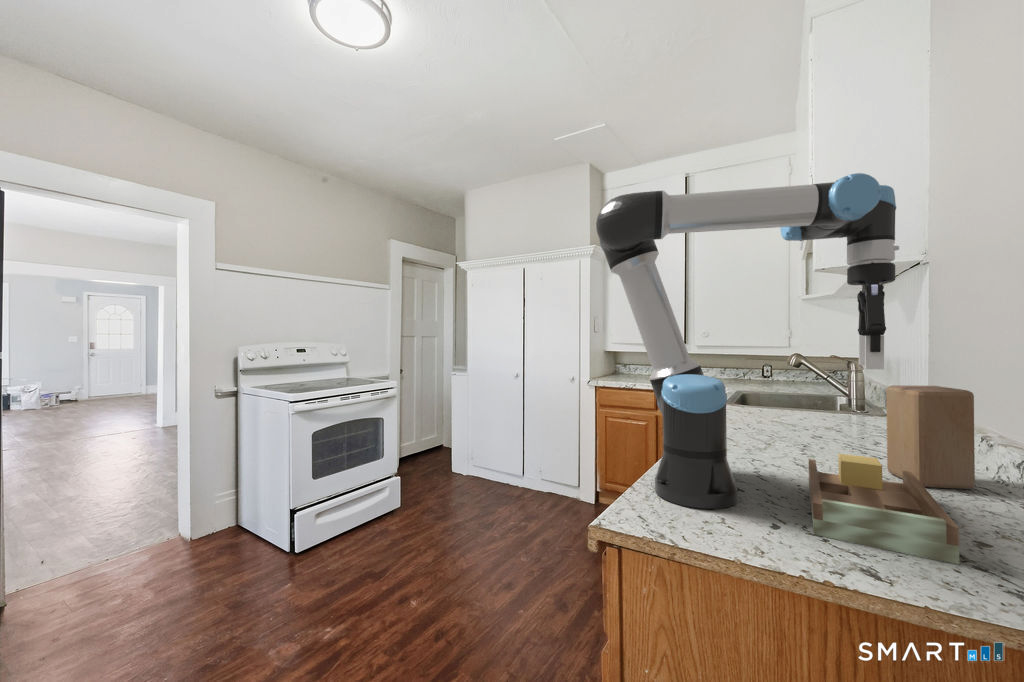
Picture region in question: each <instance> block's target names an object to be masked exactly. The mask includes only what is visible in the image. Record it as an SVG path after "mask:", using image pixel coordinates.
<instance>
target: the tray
mask: <svg viewBox="0 0 1024 682" xmlns="http://www.w3.org/2000/svg"><path fill="white" fill-rule="evenodd" d="M808 488H809V489H808V490H809V499H810V507H811V508H810V509H811V510H810V512H811V518H812V519H811V520H812V530H813V531H812V533H813V536H814V535H815V536H819V537H824V538H830V539H833V540H838V541H844V542H848V543H852V544H859V545H863V546H868V547H872V548H877V549H882V550H887V551H891V552H892V551H893V552H896V553H900V552H901V553H902V554H906V555H911V556H915V555H916V557H920V556H922V557H921V558H925V557H927V558H926V559H929V558H930V559H931V560H935V561H940V562H945V563H949V564H954V565H960V528H959V526H958V525H957V524H956V523H955V521H953V519H952V518H951V516H949V515H948V513H947V512H946V511H945V509H943V507H942V506H941V505H940V504H939V503H938V501H937V500H936V499H935V498H934V497H933V495H932V494H930V492H929V491H928V490H927V489H926V487H924V486H923V485H922V484H921V483H920V482H919V480H918V479H917V478H916V477H915V476H914V475H913V473H912V472H909V471H903V479H902V482H894V481H888V480H887V481H886V480H882V490H878V489H871V488H864V487H858V486H851V485H844V484H841V482H840V478H839V474H837V473H836V474H835V473H834V474H833V473H827V472H820V471H818V468H817V461H816V459H810V458H809V459H808ZM930 559H929V560H930Z"/></svg>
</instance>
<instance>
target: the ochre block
mask: <svg viewBox="0 0 1024 682" xmlns="http://www.w3.org/2000/svg"><path fill="white" fill-rule="evenodd" d="M837 458H838V459H837V460H838V463H837V465H838V466H837V467H838V475H839V478H840V482H841V484H844V485H851V486H858V487H864V488H871V489H878V490H882V481H883V465H882V463H881V462H880V460H879V459H878V458H877V457H873V456H872V457H870V456H863V455H852V454H844V453H838V455H837Z"/></svg>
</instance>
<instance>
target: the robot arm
mask: <svg viewBox="0 0 1024 682" xmlns="http://www.w3.org/2000/svg"><path fill="white" fill-rule="evenodd" d="M896 210H897V204H896V196H895V189H894V188H893V187H892V186H890V185H886V184H883V185H882V184H880V182H879V181H878V180H877V179H876V178H875V177H873V176H872V175H870V174H867V173H863V172H858V173H857V172H855V173H851V174H847V175H845V176H843V177H841V178H839V179H837V180H835V181H831V182H821V183H813V184H802V185H801V184H800V185H786V186H774V187H773V186H772V187H762V188H761V187H760V188H747V189H734V190H722V191H720V190H719V191H710V192H709V191H708V192H699V193H698V192H697V193H696V192H695V193H683V194H682V193H681V194H669V193H667V192H666V191H665V190H654V191H651V190H650V191H643V192H632V193H625V194H622V195H618V196H615V197H614V198H611V199H610V200H609V201H607V202H606V203H605V204H604V205H603V206H602V207H601V209H600V210H599V213H598V214H597V217H596V222H595V226H596V234H597V236H598V239H599V244H600V247H601V250H602V251H603V253H604V256H605V259H606V262H607V265H608V267H609V269H610V272H611V273H612V274H615V275H618V277H619V278H620V281H621V284H622V287H623V289H624V292H625V296H626V298H627V300H628V304H629V307H630V309H631V311H632V316H633V317H634V320H635V323H636V326H637V329H638V332H639V334H640V337H641V339H642V342H643V345H644V348H645V352H646V353H647V357H648V359H649V362H650V365H651V368H652V371H651V374H650V376H649V377H648V378H649V382H650V384H651V387H652V391H653V393H654V396H655V399H656V404H657V407H658V409H659V411H660V413H661V415H662V444H663V445H662V449H663V450H662V451H663V452H662V456H661V460H660V461H659V462H660V463H659V464H658V467H657V468H658V469H657V471H656V474H655V477H654V492H655V493H656V494H657V495H658V497H660V498H662V499H664V500H666V501H668V502H670V503H673V504H677V505H680V506H684V507H689V508H695V509H706V510H707V509H708V510H709V509H713V510H714V509H715V510H717V509H725V508H730V507H732V506H734V505H736V504H737V503H738V501H739V500H738V499H739V498H738V495H739V494H738V487H737V484H736V480H735V478H734V475H733V472H732V470H731V467H730V465H729V462H728V461H729V460H728V458H727V457H728V453H727V446H728V445H727V402H728V394H727V390H726V385H725V383H724V382H723V381H722V380H721V379H719V378H717V377H714V376H708V375H705V374H704V372H703V371H704V370H703V368H702V366H701V364H700V362H697V361H696V360H693V359H692V358H691V357H690V354H689V352H688V349H687V346H686V344H685V341H684V339H683V335H682V333H681V330H680V327H679V324H678V322H677V318H676V316H675V314H674V310H673V308H672V305H671V302H670V300H669V297H668V294H667V292H666V289H665V286H664V283H663V281H662V279H661V276H660V272H659V270H658V268H657V264H656V260H657V259H658V256H659V254H660V253H659V250H658V247H657V245H656V242H655V240H663V239H664V238H665V237H666V236H667V235H669V234H686V233H687V234H688V233H704V232H718V231H719V232H722V231H737V230H740V231H741V230H742V231H743V230H754V229H755V230H756V229H769V228H770V229H774V228H779V229H780V234H781V237H782V239H783V240H785V241H788V242H789V241H791V242H792V241H794V242H795V241H796V242H797V241H799V242H803V241H812V240H814V241H815V240H824V239H825V240H826V239H827V240H828V239H842V238H846V264H847V266H849V267H848V268H847V269H846V274H847V275H846V281H847V284H848V285H849V286H862V288H861V290H860V291H859V292H858V293H857V294H856V295H857V297H856V298H857V302H858V304H857V309H858V312H859V313H858V328H857V332H858V335H859V336H858V365H859V366H864V367H865V370H880V371H881V370H882V371H883V370H885V333H886V330H887V326H886V319H885V318H886V316H885V296H886V295H885V294H886V293H885V290H884V288H885V287H884V284H888V283H893V282H895V281H896V264H895V263H894V262H893V261H895V260H896V251H899V250H900V246H899V245H895V243H896Z"/></svg>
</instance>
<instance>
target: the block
mask: <svg viewBox="0 0 1024 682" xmlns="http://www.w3.org/2000/svg"><path fill="white" fill-rule="evenodd" d="M885 393H886V395H885V396H886V453H887V454H886V455H887V456H886V457H887V458H886V459H887V460H886V462H887V463H886V465H887V466H886V467H887V472H888V473H889V474H891V475H894V476H896V477H898V478H899V479H902V480H903V471H909V472H912V473H913V475H914V476H915V477H916V478H917V479H918V480H919V482H920V483H921V484H922V485H923V486H924V488H934V489H935V488H936V489H954V490H957V489H958V490H960V489H961V490H971V489H972V490H973V489H974V488H975V487H976V486H975V485H976V479H975V478H976V477H975V476H976V475H975V473H976V471H975V466H976V465H975V463H976V462H975V395H974V393H973V392H972V391H970V390H968V389H962V388H960V389H959V388H953V387H947V386H938V385H900V384H899V385H897V384H895V385H894V384H893V385H889V386H887V387H886V392H885Z"/></svg>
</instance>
